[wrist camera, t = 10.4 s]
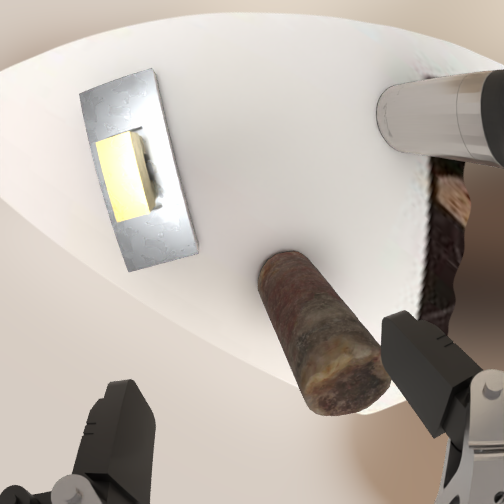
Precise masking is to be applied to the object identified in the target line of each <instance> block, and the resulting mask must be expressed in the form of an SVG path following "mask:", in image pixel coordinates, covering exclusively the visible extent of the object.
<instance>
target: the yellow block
mask: <svg viewBox="0 0 504 504" xmlns="http://www.w3.org/2000/svg"><path fill="white" fill-rule="evenodd" d="M96 146H97V151H98V155H99V159H100V163H101V167H102V171H103V175H104V179H105V183H106V186H107V190H108V194H109V197H110V201H111V204H112V207H113V211H114V214H115V217H116V221H117V222H121V221H124V220H127V219H131V218H134V217H138V216H141V215H145V214H148V213H150V212H151V211H152V209H153V208H154V206H155V205H156V202H155V200H156V199H157V195H156V192H155V188H154V184H153V180H152V181H150V179H149V175H148V171H147V167H146V163H145V159H144V155H143V154H146V152H145V148H144V144H143V139H142V136H139V134H138V133H135V132H130V131H128V132H125V133H122V134H119V135H116V136H113V137H110V138H107V139H104V140H102V141H99V142H96Z"/></svg>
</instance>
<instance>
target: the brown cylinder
mask: <svg viewBox="0 0 504 504" xmlns="http://www.w3.org/2000/svg"><path fill="white" fill-rule="evenodd" d="M258 291H259V294H260V297H261V299H262V301H263V304H264V306H265V309H266V311H267V313H268V316H269V318H270V320H271V323H272V325H273V327H274V329H275V332H276V334H277V336H278V339H279V341H280V344H281V346H282V348H283V351H284V353H285V356H286V358H287V360H288V363H289V365H290V367H291V369H292V372H293V374H294V377H295V379H296V382H297V384H298V386H299V389H300V391H301V393H302V396H303V398H304V400H305V402H306V404H307V406H308V407H309V409H310V410H312V411H313V412H314V413H316V414H319V415H324V416H340V415H346V414H350V413H356V412H359V411H361V410H363V409H366V408H368V407H369V406H371V405H372V404H373V403H374V402H375V401H377V400H378V399H379V398H380V397H381V396H382V395H383V394H384V393H385V392H386V390H387V389H388V388H389V387H390V383H391V380H392V379H391V378H390V376H389V375H388V373H387V372H386V371H385V369H384V367H383V364H382V360H381V346H380V345H379V344H378V343H377V341H376V340H375V339H374V337H373V336H372V335H371V334H370V332H369V331H368V330H367V329H366V328H365V327H364V326H363V324H362V323H361V322H360V321H359V320H358V318H357V317H356V316H355V314H354V313H353V312H352V311H351V310H350V308H349V307H348V306H347V305H346V304H345V303H344V301H343V300H342V299H341V298H340V297H339V296H338V294H337V293H336V292H335V290H334V289H333V288H332V287H331V285H330V284H329V283H328V282H327V280H326V279H325V278H324V277H323V276H322V274H321V273H320V272H319V271H318V269H317V268H316V267H315V266H314V265H313V264H312V263H311V262H310V260H309V259H308V258H307V257H305V256H304V255H303V254H301V253H299V252H295V251H292V252H285V253H279V254H276V255H274V256H273V257H272V258H270V259H269V260H268V261H267V262H266V264H265V265H264V266H263V268H262V270H261V273H260V276H259V279H258Z"/></svg>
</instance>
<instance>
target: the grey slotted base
mask: <svg viewBox="0 0 504 504" xmlns="http://www.w3.org/2000/svg"><path fill="white" fill-rule="evenodd" d="M79 96H80V101H81V107H82V112H83V117H84V122H85V126H86V131H87V135H88V140H89V144H90V148H91V152H92V156H93V160H94V164H95V168H96V172H97V176H98V179H99V183H100V186H101V190H102V193H103V197H104V200H105V204H106V207H107V210H108V213H109V217H110V220H111V223H112V226H113V229H114V232H115V235H116V238H117V241H118V244H119V247H120V250H121V253H122V255H123V258H124V261H125V264H126V267H127V269H128V272H132V271H135V270H139V269H143V268H147V267H150V266H154V265H158V264H161V263H165V262H169V261H173V260H176V259H180V258H184V257H188V256H191V255H195V254H198V242H197V238H196V235H195V231H194V228H193V224H192V221H191V217H190V213H189V210H188V206H187V202H186V198H185V195H184V191H183V187H182V183H181V179H180V175H179V171H178V168H177V164H176V160H175V156H174V151H173V147H172V143H171V139H170V135H169V131H168V126H167V122H166V118H165V114H164V109H163V105H162V100H161V96H160V91H159V87H158V82H157V77H156V74H155V72H154V70H153V69H152V68H150V69H147V70H144V71H141V72H137V73H134V74H131V75H128V76H125V77H122V78H119V79H116V80H114V81H111V82H108V83H105V84H103V85H100V86H97V87H95V88H92V89H90V90H87V91H85V92H82V93H80V94H79ZM128 131H130V132H135V133H138V134H139V136H142V139H143V144H144V148H145V152H146V154H143V155H144V159H145V163H146V167H147V171H148V175H149V179H150V181H152V180H153V184H154V188H155V192H156V195H157V199H156V200H155V202H156V205H155V206H154V208H153V209H152V211H151V212H150V213H148V214H145V215H141V216H138V217H134V218H131V219H127V220H124V221H121V222H117V221H116V217H115V214H114V211H113V207H112V204H111V201H110V197H109V194H108V190H107V186H106V183H105V179H104V175H103V171H102V167H101V163H100V159H99V155H98V151H97V146H96V142H99V141H102V140H104V139H107V138H110V137H113V136H116V135H119V134H122V133H125V132H128Z"/></svg>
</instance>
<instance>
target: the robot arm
mask: <svg viewBox="0 0 504 504" xmlns="http://www.w3.org/2000/svg"><path fill="white" fill-rule="evenodd" d="M377 122H378V126H379V129H380V131H381V134H382V136H383V137H384V139H385V140H386V142H387V143H388V144H389V145H390V146H391V147H393V148H394V149H396V150H397V151H400V152H403V153H412V154H419V155H426V156H433V157H440V158H446V159H453V160H459V161H465V162H471V163H476V164H481V165H488V166H492V167H497V168H502V169H504V70H493V71H483V72H474V73H467V74H459V75H452V76H445V77H438V78H432V79H426V80H421V81H415V82H410V83H404V84H400V85H395V86H392V87H390V88H388V89H387V90H386V91H385V92H384V93H383V94H382V95H381V97H380V99H379V102H378V106H377ZM381 360H382V364H383V367H384V369H385V371H386V372H387V373H388V375H389V376H390V378H391V379H392V380H393V382H394V383H395V384H396V386H397V387H398V389H399V390H400V391H401V393H402V394H403V396H404V397H405V398H406V400H407V401H408V403H409V404H410V405H411V407H412V408H413V409H414V411H415V412H416V414H417V415H418V417H419V418H420V419H421V421H422V422H423V424H424V425H425V427H426V428H427V429H428V431H429V432H430V434H431V435H432V437H433V438H436V437H438V436H440V435H441V434H443V433H445V432H446V434H447V435H448V436H449V439H448V443H447V449H446V456H445V462H444V468H443V473H442V479H441V484H440V489H439V493H438V495H437V498H436V501H435V503H434V504H504V372H502V371H499V370H494V369H490V370H485V371H484V370H483V369H481V368H480V367H479V366H478V365H477V364H476V363H475V362H474V361H473V360H472V359H471V358H470V357H469V356H468V355H467V354H466V353H465V352H464V351H463V350H462V349H461V348H459V346H457V345H456V344H454V343H453V341H452V340H451V339H450V338H449V337H448V336H446V335H445V333H443V332H442V331H441V330H440V329H439V328H438V327H437V326H436V325H434V324H431V323H429V322H427V321H424V320H420V321H417V320H416V319H415V318H414V317H413V316H412V315H411V314H410V313H409V312H407V311H405V310H403V311H400V312H398V313H395V314H392V315H390V316H387V317H384V318H383V320H382V334H381ZM86 423H87V425H86V426H85V429H84V432H83V433H84V436H82V439H81V443H80V446H79V450H78V453H77V457H76V461H75V464H74V468H73V472H72V475H67V476H65V477H63V478H61V479H60V480H59V481H57V482H56V484H55V485H54V487H53V489H52V491H50V492H45V493H40V494H34V495H31V494H30V493H29V492H28V491H27V490H25V489H24V488H23V487H21V486H18V485H12V486H9V487H7V488H6V489H5V490H4V491H3V492H2V493H1V495H0V504H150V491H151V490H150V489H151V475H152V462H153V450H154V439H155V430H156V424H155V418H154V415H153V412H152V410H151V408H150V407H149V405H148V403H147V402H146V400H145V398H144V397H143V395H142V393H141V392H140V390H139V388H138V386H137V385H136V383H135V382H134V381H133V380H131V379H129V380H122V381H114V382H110V383H109V384H108V386H107V389H106V392H105V396H104V398H102V399H99V400H98V401H97V402H96V404H95V405H94V406H93V407H92V409H91V410H90V413H89V416H88V419H87V422H86Z"/></svg>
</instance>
